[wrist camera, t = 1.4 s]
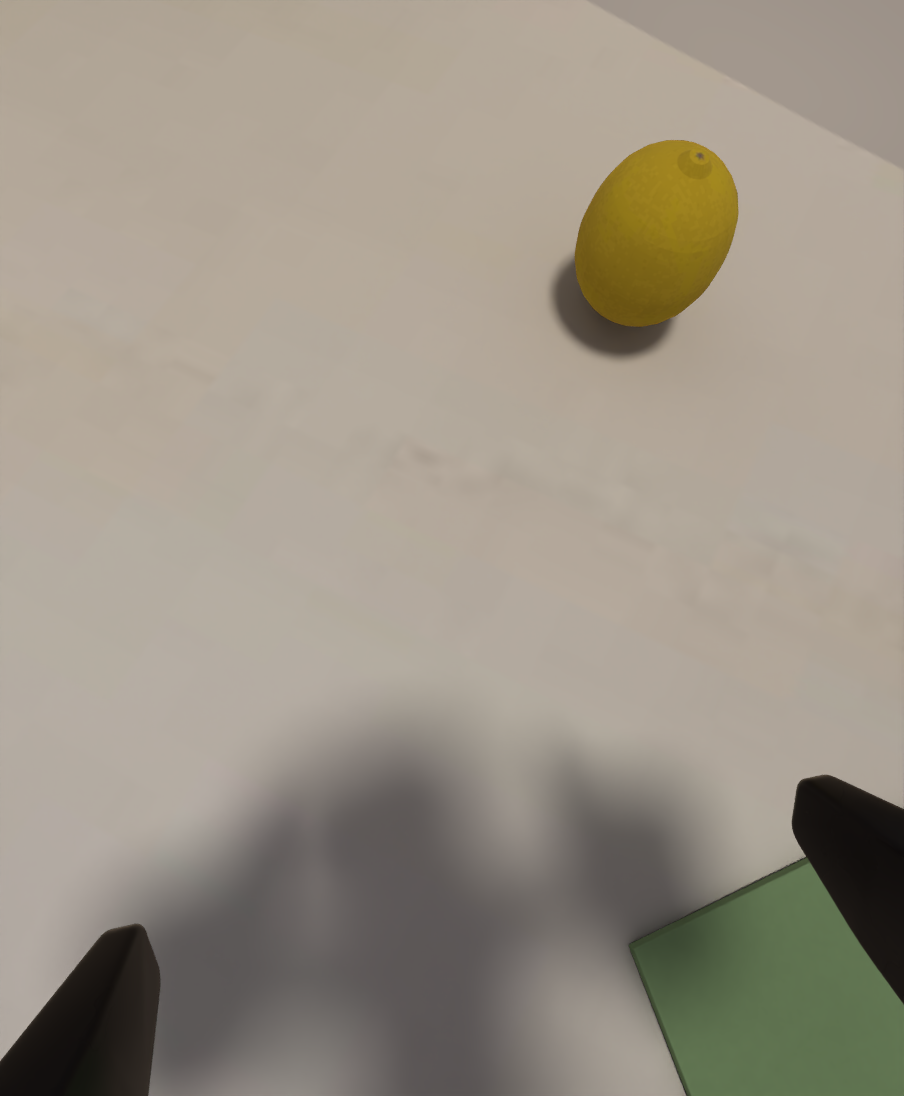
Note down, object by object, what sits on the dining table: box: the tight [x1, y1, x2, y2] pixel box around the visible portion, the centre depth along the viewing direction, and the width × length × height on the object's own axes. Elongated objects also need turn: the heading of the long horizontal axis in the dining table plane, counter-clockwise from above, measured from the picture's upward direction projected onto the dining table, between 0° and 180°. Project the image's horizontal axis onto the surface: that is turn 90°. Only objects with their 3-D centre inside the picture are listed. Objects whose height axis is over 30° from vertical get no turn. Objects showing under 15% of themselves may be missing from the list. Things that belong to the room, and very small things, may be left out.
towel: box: [629, 858, 904, 1096], centre depth 21 cm, size 14×12×1 cm
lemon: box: [575, 140, 738, 327], centre depth 25 cm, size 6×6×8 cm
